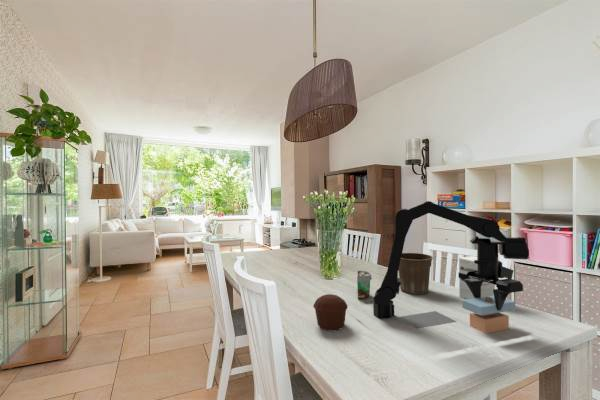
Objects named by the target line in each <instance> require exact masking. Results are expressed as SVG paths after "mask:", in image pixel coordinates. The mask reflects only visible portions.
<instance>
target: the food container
mask: <svg viewBox="0 0 600 400" xmlns="http://www.w3.org/2000/svg"><path fill="white" fill-rule="evenodd" d="M356 279H357V300H368V299H369V298H370V293H371V292H370V291H371V280H372V279H373V278H372V274H371V273H370V272H368V271H367V270H366V271H365V270H357V277H356Z"/></svg>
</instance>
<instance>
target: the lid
mask: <svg viewBox="0 0 600 400" xmlns="http://www.w3.org/2000/svg"><path fill="white" fill-rule="evenodd" d="M461 301H462V302H461V303H462V304H461V307H462V309H464V310H467V311H469V312H471V313H476V314H478V315H481V316H482V315H488V314H494V313H505V312H511V311H515V310H516V301H513V300H511V299H508V298H506V300H505V302H504V304H503V306H502V309H501V310H500V311H498V310H497V308H496V304H495V298H494V296H487V297H480V298H473V299H462V300H461Z"/></svg>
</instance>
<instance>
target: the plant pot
mask: <svg viewBox="0 0 600 400" xmlns="http://www.w3.org/2000/svg"><path fill="white" fill-rule="evenodd" d="M433 259H434V257H433V256H432V255H431V254H426V253H418V252H402V255H401V260H400V265H399V269H398V278H401V284H400V287H399V288H400V289H399V290H400V291H402V292H404V293H405V294H410V295H423V294H428V292H429V287H430V286H429V285H430V274H431V267H432V261H433Z"/></svg>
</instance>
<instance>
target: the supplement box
mask: <svg viewBox="0 0 600 400" xmlns="http://www.w3.org/2000/svg"><path fill="white" fill-rule="evenodd" d="M458 258H459V259H458V261H459V263H458V265H459V267H458V268H459V269H458V272H459V271H460V270H462V269H474V270H478V266H477V264H476V263H474V260H477V255H476V256H473V255H471V256H464V257H458ZM458 279H459V287H458V288H459V291H458V292H459V297H461V298H463V299H464V300H466V299H473V298H474V296H473V294H472V292H471V290H470V289H469V287H468V286H467V284H466V282H464V279H461V278H459V277H458ZM491 281H493V280H491ZM493 289H495V284H491V283H488V282H484V281H483V283H482V285H481V297H487V296H494V293H493Z"/></svg>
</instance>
